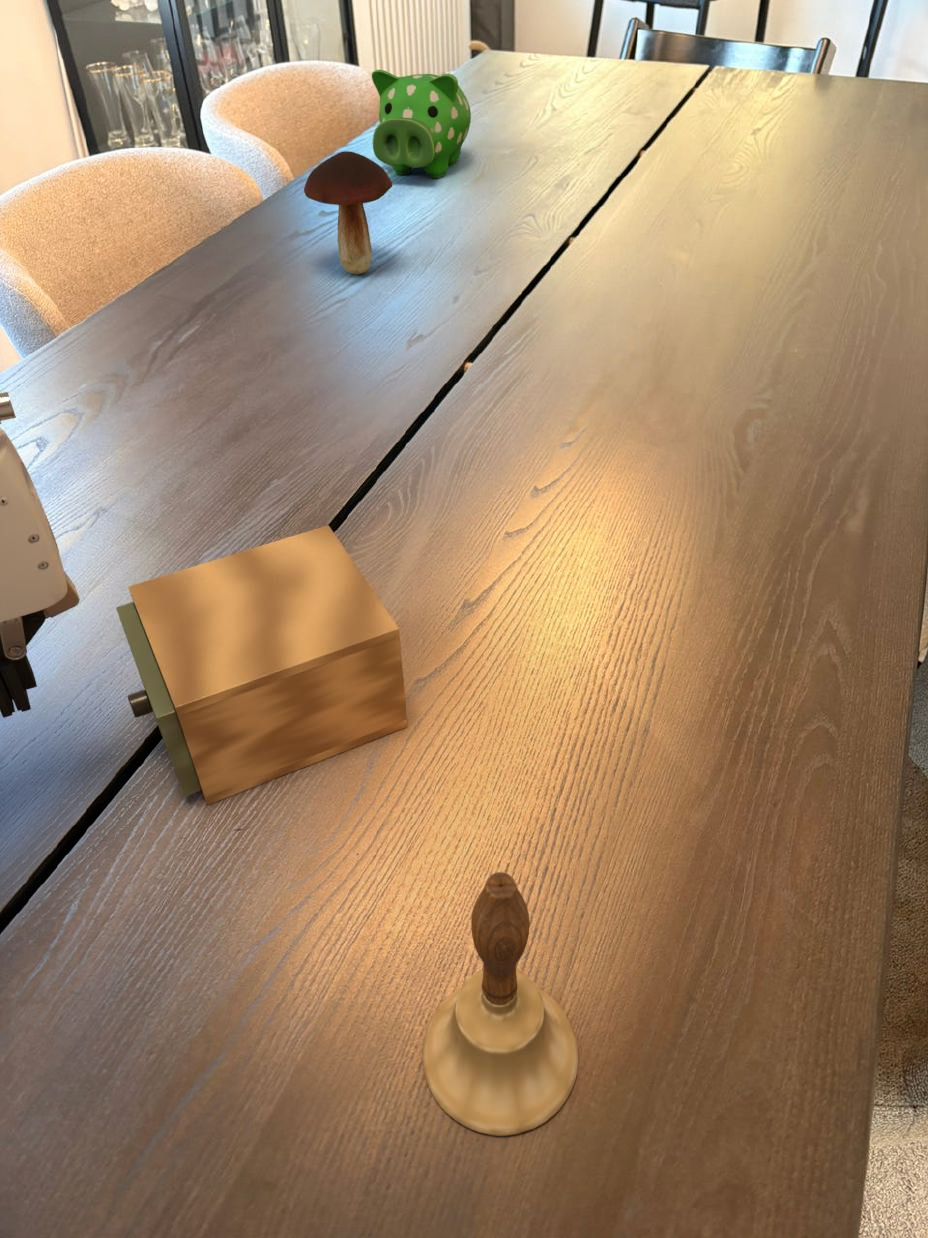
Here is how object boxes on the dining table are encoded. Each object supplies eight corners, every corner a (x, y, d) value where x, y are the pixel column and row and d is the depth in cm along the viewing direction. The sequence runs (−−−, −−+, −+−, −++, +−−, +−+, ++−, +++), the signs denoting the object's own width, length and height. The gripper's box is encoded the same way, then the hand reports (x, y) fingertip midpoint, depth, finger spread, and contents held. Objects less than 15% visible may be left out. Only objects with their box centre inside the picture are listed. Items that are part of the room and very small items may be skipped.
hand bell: (391, 1044, 51) (364, 880, 40) (506, 951, 55) (510, 778, 44) (492, 1174, 47) (493, 1027, 36) (611, 1062, 50) (644, 899, 40)
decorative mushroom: (366, 296, 121) (354, 171, 111) (298, 278, 126) (281, 157, 115) (414, 265, 128) (407, 145, 118) (348, 250, 132) (336, 133, 122)
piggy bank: (363, 183, 152) (354, 78, 142) (404, 149, 165) (398, 50, 155) (447, 191, 149) (444, 84, 139) (483, 156, 161) (482, 55, 151)
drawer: (166, 804, 62) (136, 725, 57) (127, 691, 70) (97, 612, 64) (373, 724, 67) (363, 644, 62) (316, 626, 74) (303, 548, 69)
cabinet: (207, 805, 63) (175, 707, 57) (160, 683, 71) (127, 586, 65) (407, 726, 68) (399, 628, 61) (342, 621, 76) (328, 524, 70)
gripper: (50, 373, 52) (124, 626, 64) (-272, 434, 46) (-124, 698, 58) (75, 438, 47) (151, 699, 59) (-282, 515, 41) (-118, 785, 53)
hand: (14, 698), depth 58 cm, fingers closed
